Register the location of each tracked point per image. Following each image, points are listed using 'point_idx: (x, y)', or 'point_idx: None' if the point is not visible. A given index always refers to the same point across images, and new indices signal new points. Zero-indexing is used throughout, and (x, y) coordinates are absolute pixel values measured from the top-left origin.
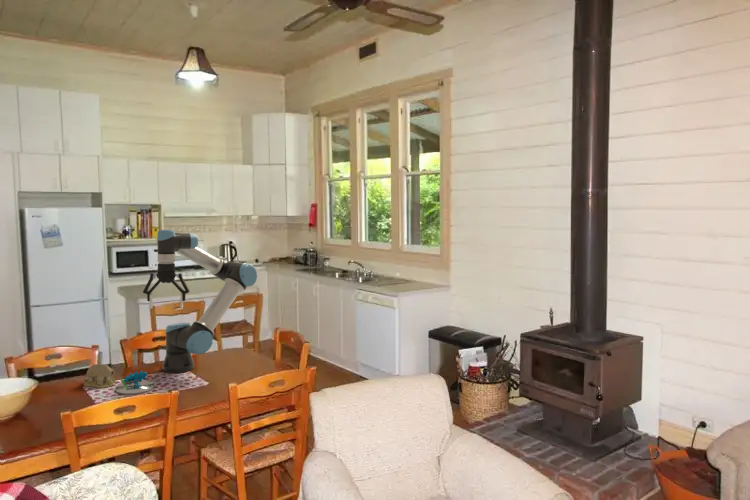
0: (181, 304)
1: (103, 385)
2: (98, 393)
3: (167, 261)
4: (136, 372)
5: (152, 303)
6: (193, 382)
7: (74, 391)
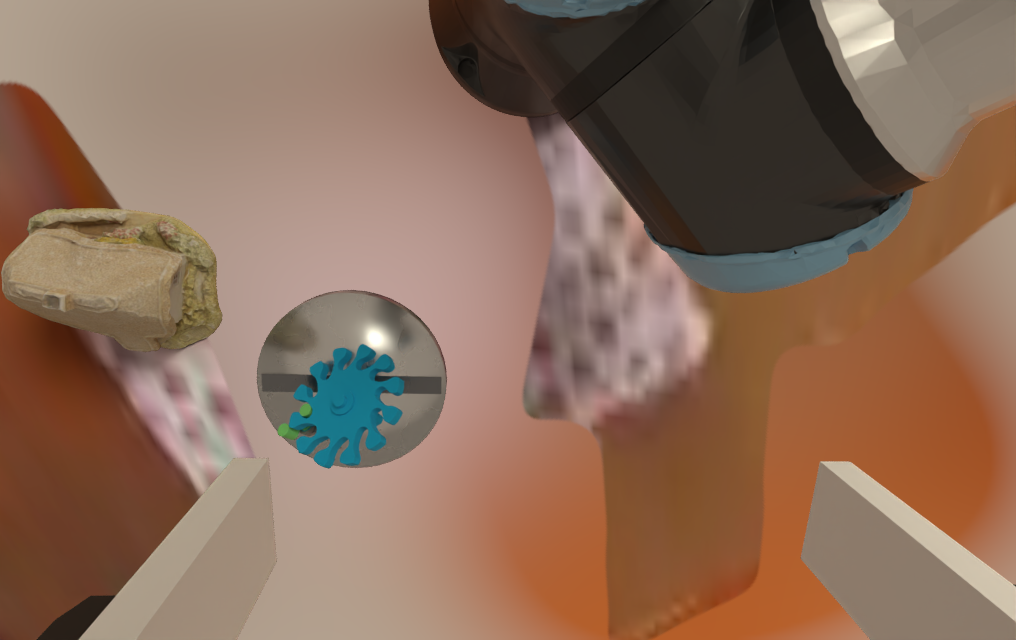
0: (868, 614)
1: (178, 338)
2: (196, 425)
3: None
4: (353, 464)
5: (230, 530)
6: (634, 316)
7: (58, 381)
